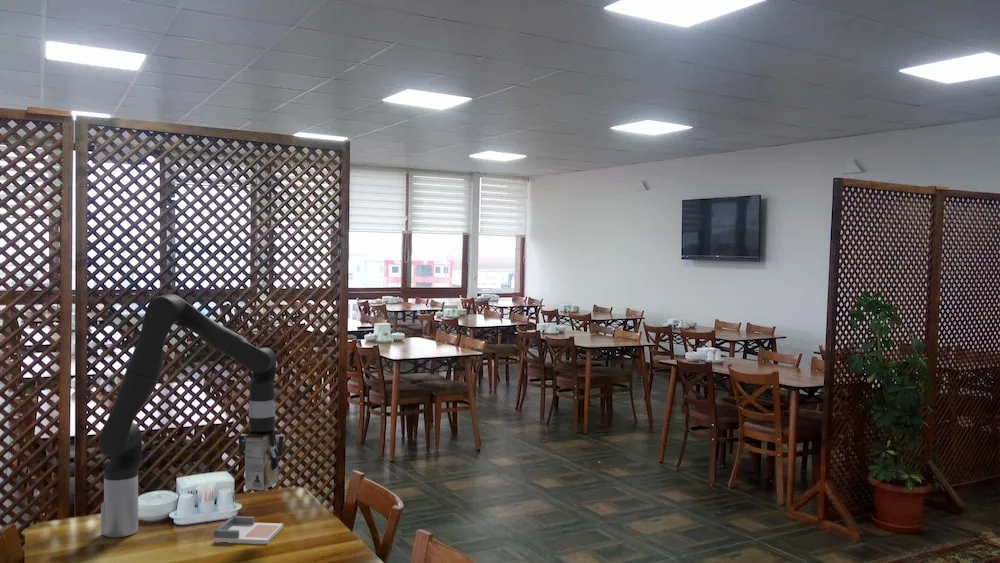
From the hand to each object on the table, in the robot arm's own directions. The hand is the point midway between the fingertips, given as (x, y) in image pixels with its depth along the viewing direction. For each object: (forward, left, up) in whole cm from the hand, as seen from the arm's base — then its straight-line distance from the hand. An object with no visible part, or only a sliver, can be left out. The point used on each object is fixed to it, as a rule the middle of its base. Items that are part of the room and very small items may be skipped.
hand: (262, 469), depth 228 cm
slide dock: (-4, 0, -20) cm, 21 cm away
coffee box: (0, 0, -5) cm, 5 cm away
